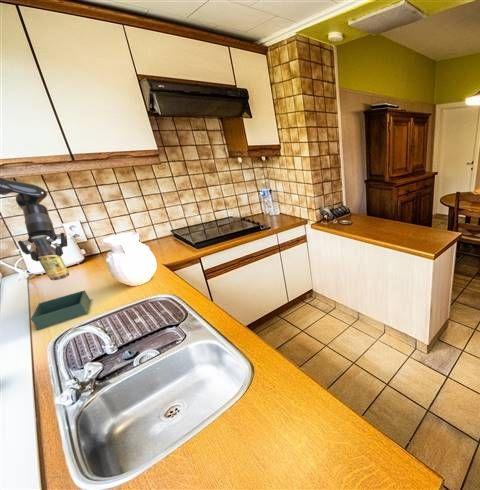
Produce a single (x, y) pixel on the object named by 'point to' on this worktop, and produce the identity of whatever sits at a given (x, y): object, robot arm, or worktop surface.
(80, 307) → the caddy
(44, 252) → the sauce bottle
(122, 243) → the pitcher
